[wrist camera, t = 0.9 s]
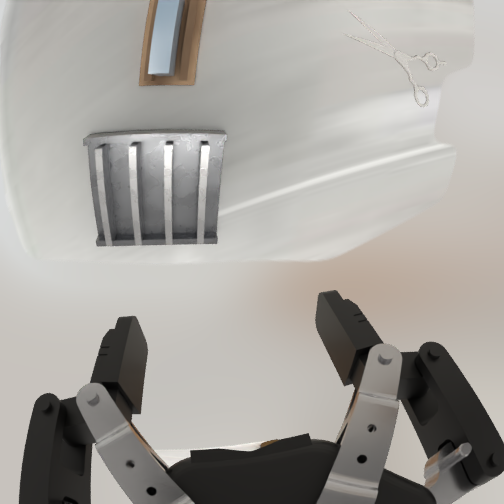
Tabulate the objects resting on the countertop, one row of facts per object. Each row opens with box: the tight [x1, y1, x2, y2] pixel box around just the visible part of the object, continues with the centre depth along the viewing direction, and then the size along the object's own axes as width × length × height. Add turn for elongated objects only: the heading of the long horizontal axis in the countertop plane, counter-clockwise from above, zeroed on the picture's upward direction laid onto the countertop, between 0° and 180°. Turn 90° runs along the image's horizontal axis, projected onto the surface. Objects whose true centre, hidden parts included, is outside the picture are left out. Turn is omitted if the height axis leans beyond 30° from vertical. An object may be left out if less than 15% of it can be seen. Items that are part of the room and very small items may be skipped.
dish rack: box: [83, 130, 227, 246], centre depth 30 cm, size 16×14×4 cm
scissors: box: [344, 11, 446, 107], centre depth 26 cm, size 11×1×20 cm
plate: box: [148, 0, 185, 76], centre depth 17 cm, size 2×9×9 cm, turn 173°
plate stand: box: [139, 0, 206, 86], centre depth 20 cm, size 6×11×3 cm, turn 173°
